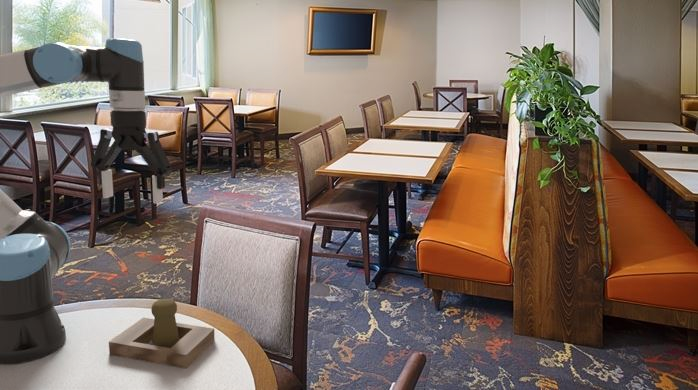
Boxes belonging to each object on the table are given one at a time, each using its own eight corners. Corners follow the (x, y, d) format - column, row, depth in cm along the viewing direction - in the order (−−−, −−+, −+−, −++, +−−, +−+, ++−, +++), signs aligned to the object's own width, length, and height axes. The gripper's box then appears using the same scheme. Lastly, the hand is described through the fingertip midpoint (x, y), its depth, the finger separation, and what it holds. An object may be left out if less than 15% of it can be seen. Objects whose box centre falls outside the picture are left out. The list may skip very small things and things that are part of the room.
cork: (171, 356, 111) (169, 308, 109) (145, 353, 113) (143, 305, 110) (185, 343, 117) (184, 297, 115) (160, 339, 118) (158, 294, 116)
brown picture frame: (109, 354, 111) (108, 341, 111) (143, 329, 123) (143, 317, 122) (186, 368, 107) (186, 355, 107) (214, 340, 119) (214, 328, 118)
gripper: (69, 107, 120) (76, 198, 125) (166, 113, 114) (170, 208, 119) (93, 105, 127) (99, 191, 132) (185, 111, 121) (188, 201, 126)
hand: (132, 199), depth 125 cm, fingers open, 13 cm apart
